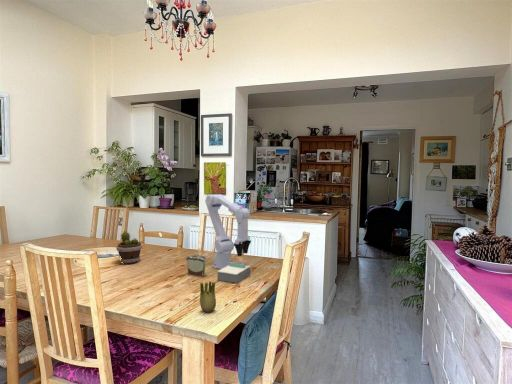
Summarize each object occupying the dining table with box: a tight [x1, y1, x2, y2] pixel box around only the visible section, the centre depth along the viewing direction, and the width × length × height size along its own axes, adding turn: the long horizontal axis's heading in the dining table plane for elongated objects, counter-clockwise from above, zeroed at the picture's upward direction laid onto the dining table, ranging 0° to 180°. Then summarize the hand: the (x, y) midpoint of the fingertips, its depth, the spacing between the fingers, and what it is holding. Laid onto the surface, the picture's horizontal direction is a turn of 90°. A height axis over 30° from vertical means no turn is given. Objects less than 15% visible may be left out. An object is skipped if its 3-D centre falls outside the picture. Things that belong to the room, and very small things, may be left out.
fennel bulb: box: [199, 280, 217, 313], centre depth 129 cm, size 6×5×12 cm
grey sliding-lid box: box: [217, 266, 251, 285], centre depth 171 cm, size 11×16×4 cm
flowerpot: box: [115, 230, 143, 265], centre depth 197 cm, size 14×15×20 cm
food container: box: [185, 254, 207, 278], centre depth 175 cm, size 12×6×10 cm, turn 65°
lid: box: [217, 261, 251, 275], centre depth 170 cm, size 11×16×2 cm
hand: (242, 254), depth 178 cm, fingers open, 6 cm apart
